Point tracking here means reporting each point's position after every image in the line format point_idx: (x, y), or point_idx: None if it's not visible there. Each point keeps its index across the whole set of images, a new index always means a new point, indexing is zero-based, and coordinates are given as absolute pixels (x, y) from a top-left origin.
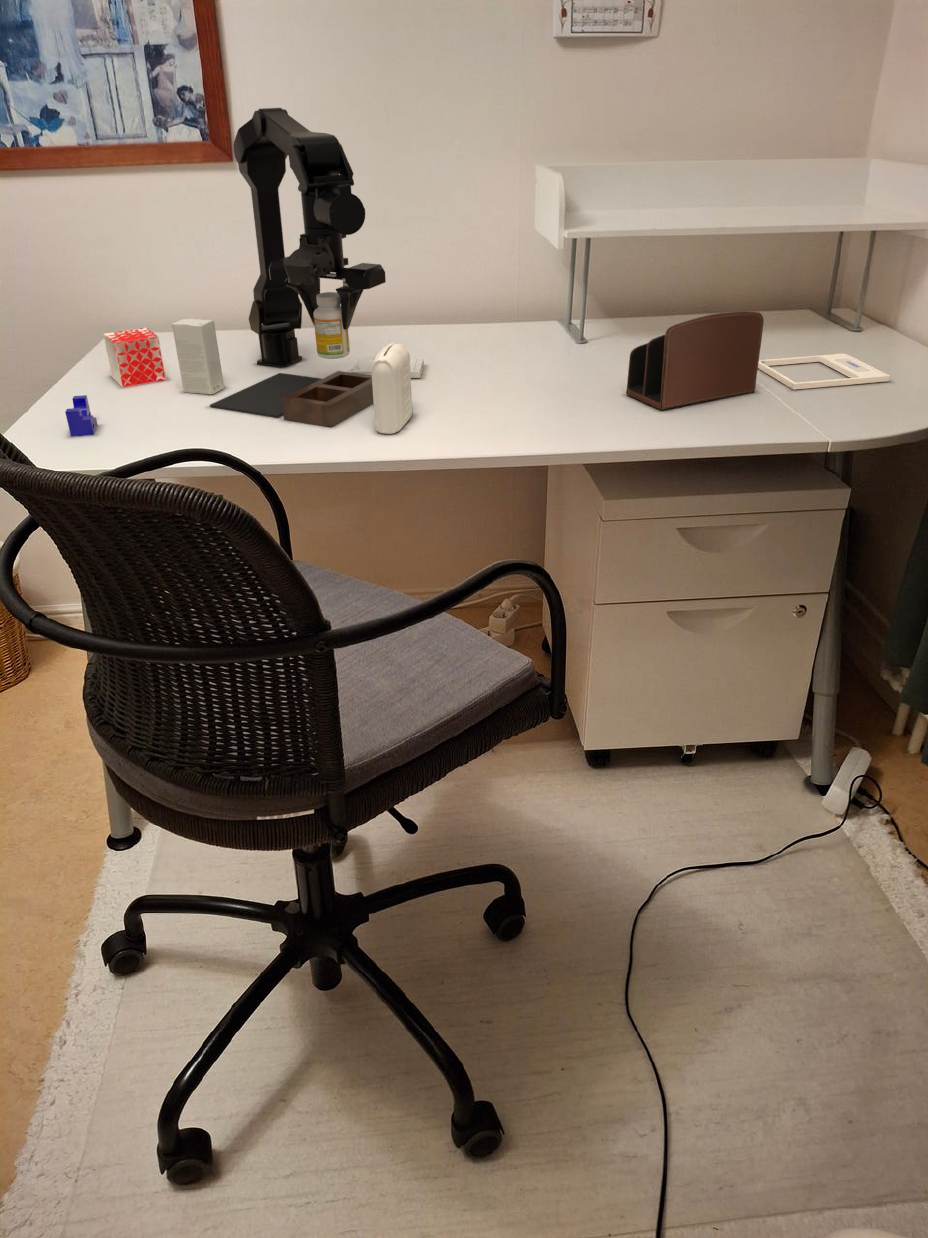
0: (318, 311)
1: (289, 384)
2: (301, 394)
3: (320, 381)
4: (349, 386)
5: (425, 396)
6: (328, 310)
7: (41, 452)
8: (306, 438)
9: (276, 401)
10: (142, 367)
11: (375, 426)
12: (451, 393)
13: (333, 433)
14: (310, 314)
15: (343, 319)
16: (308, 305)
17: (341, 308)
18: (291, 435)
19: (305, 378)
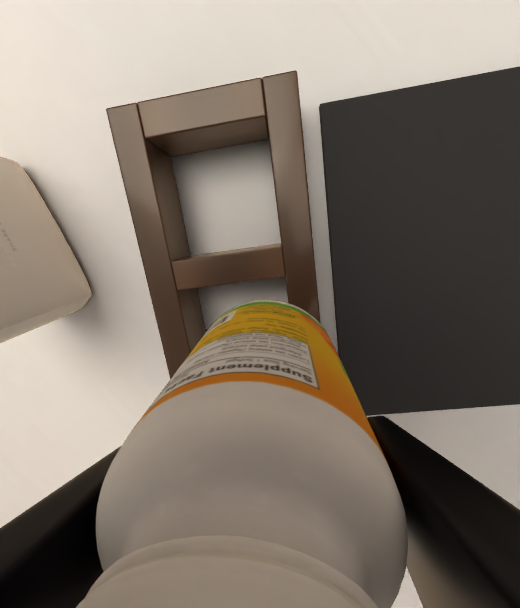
0: (272, 452)
1: (466, 337)
2: (271, 157)
3: (304, 293)
4: None
5: (125, 422)
6: (163, 501)
7: None
8: (130, 14)
9: (406, 202)
10: None
11: (6, 158)
12: (97, 459)
13: (103, 97)
14: (433, 463)
15: (96, 474)
16: (501, 545)
17: (4, 563)
18: (182, 7)
19: (454, 394)
